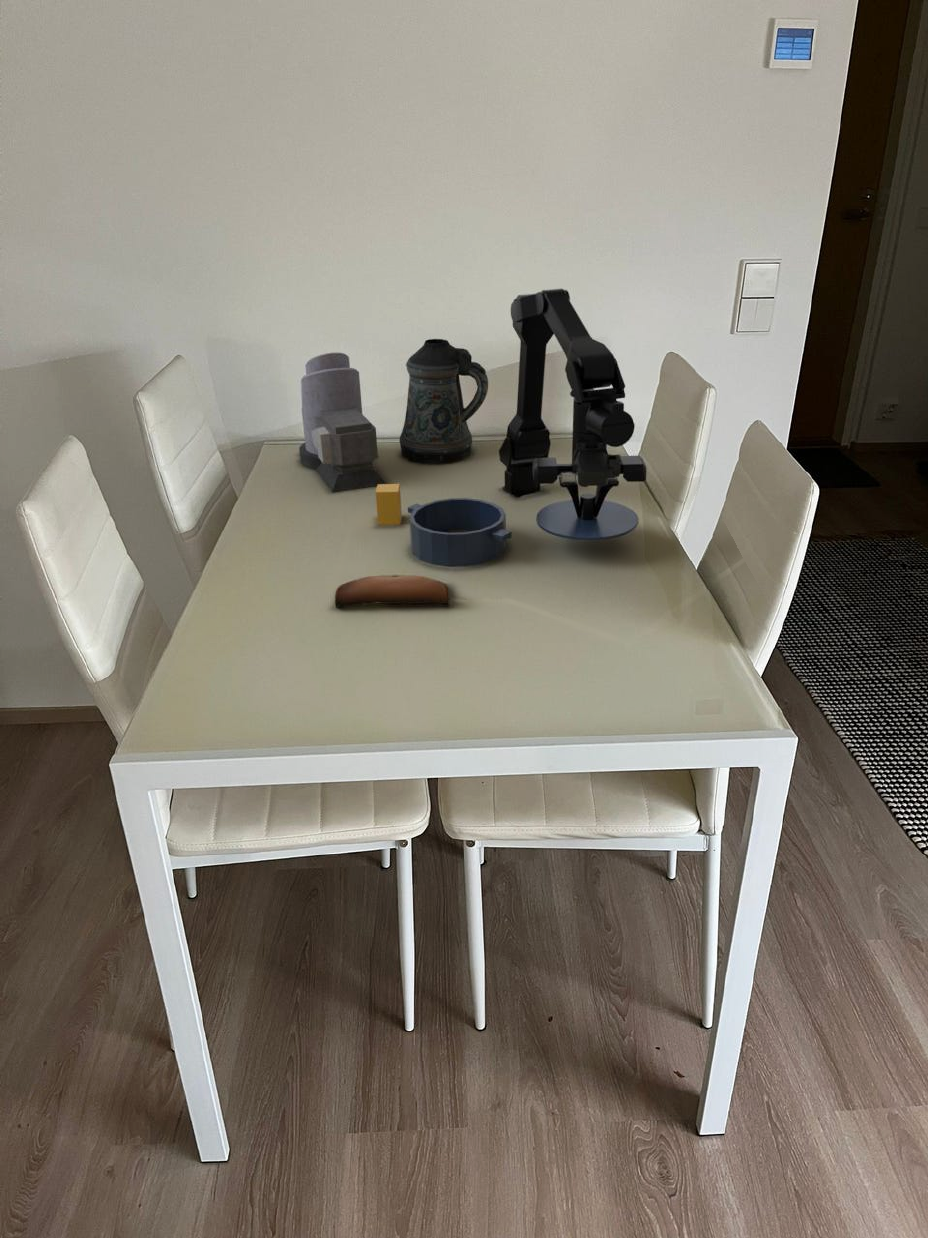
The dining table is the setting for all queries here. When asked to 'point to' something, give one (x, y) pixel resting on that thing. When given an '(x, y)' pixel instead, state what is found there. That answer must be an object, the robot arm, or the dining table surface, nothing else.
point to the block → (388, 504)
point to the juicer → (337, 425)
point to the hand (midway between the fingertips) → (587, 516)
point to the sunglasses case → (391, 590)
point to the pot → (457, 547)
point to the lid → (587, 519)
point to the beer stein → (439, 404)
